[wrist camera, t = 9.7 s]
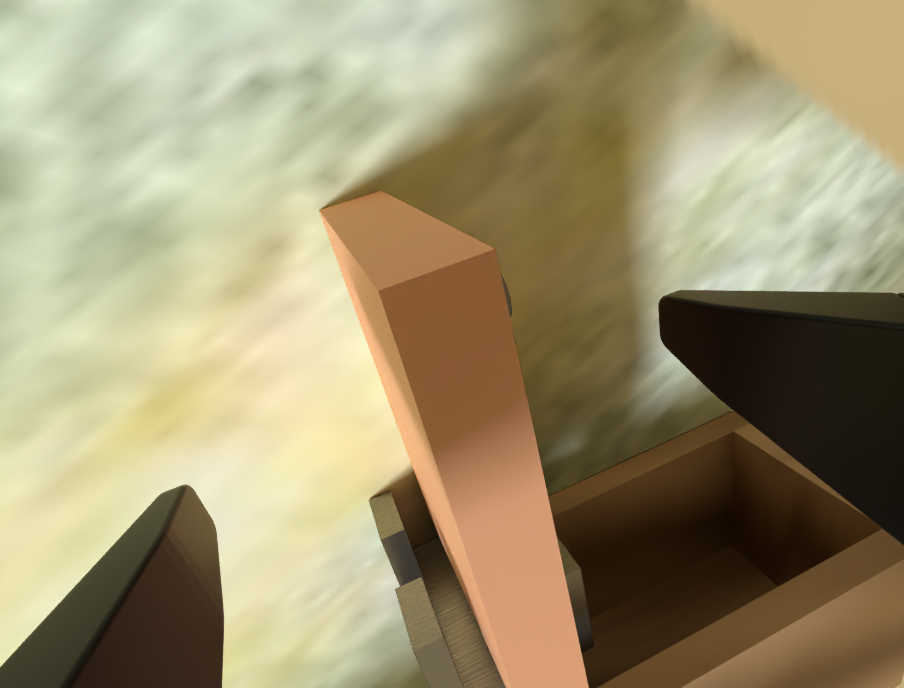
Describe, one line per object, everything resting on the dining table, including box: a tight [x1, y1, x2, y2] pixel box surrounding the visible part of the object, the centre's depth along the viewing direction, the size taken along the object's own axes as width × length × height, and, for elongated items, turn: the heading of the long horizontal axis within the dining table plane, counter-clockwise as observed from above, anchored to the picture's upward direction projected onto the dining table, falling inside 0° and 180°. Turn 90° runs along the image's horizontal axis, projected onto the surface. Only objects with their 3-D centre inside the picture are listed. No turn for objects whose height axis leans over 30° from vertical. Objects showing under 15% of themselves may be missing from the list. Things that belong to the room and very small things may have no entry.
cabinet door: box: [319, 191, 589, 688], centre depth 14 cm, size 12×2×8 cm, turn 15°
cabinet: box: [548, 411, 904, 688], centre depth 20 cm, size 8×14×8 cm, turn 104°
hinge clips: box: [369, 491, 594, 688], centre depth 17 cm, size 4×5×6 cm
